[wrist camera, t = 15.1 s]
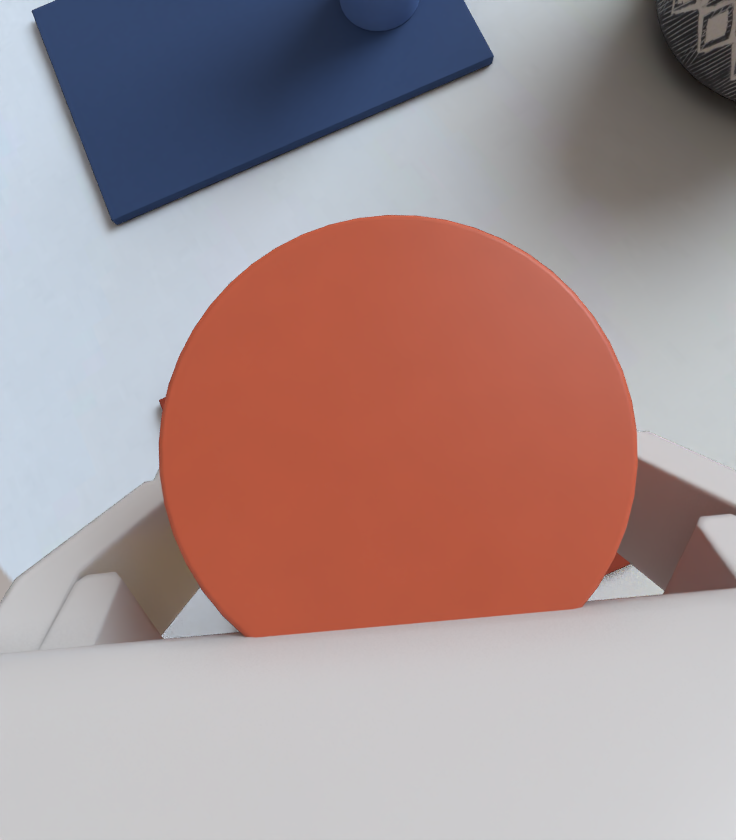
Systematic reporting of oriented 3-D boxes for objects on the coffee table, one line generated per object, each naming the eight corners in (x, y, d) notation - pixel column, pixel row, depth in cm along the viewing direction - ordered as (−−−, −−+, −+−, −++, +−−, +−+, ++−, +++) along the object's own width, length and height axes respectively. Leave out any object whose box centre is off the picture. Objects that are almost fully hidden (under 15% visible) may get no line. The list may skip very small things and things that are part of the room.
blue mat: (116, 225, 26) (111, 220, 25) (37, 18, 27) (31, 10, 27) (492, 64, 26) (494, 55, 25) (387, -130, 28) (387, -142, 27)
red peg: (352, 569, 14) (259, 783, 4) (295, 432, 15) (91, 321, 5) (490, 509, 14) (735, 570, 4) (428, 374, 15) (507, 141, 5)
